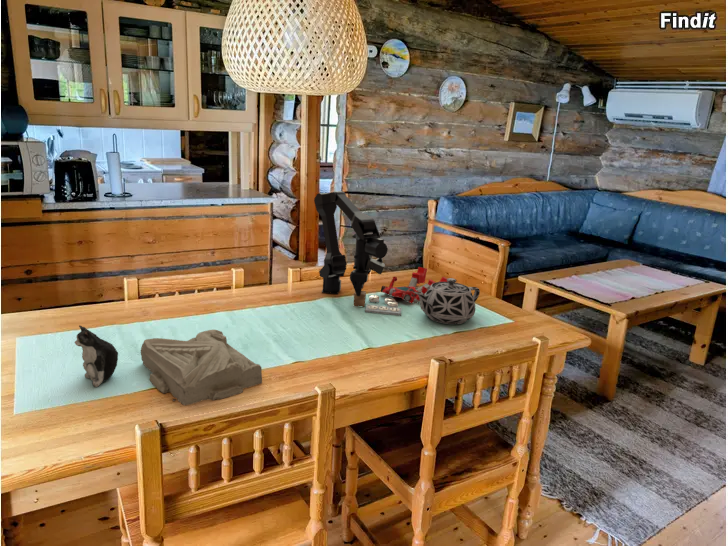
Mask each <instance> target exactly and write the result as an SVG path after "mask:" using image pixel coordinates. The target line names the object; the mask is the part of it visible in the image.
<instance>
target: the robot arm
mask: <svg viewBox="0 0 728 546" xmlns="http://www.w3.org/2000/svg"><path fill="white" fill-rule="evenodd" d="M313 201H314V202H313V203H314V206H315V210H316V212H317V213H318V214H319V216H320V217H321V222H322V229H323V237H324V242H325V243H324V244H325V250H326V254H325V257H324V260H323V266H322V267H321V268H320V269H319V270H318V273H319V277H321V278H322V290H321V293H324V294H333V295H338V294H339V292H341V289H342V280H341V277H342V278H343V277H344V276H345V274H346V273H345V272H346V270H347V266H348V264H347V260H346V257H347V256H346V255H345V254H342V253H341V251H340V246H339V240H338V235H337V234H338V232H337V225H336V219H335V213H336V211H337V207H338V208H339V209H340V210H341V211H342V212H343V214H345V216H346V217H347V218H348V219H349V220H350V225H351V228H352V229H353V231H354V234H353V235H352V236H351V237H352V238H353V239H355V248H354V255H353V260H354V261H353V262H354V263H353V264H354V265H352V266H353V270H351V272H350V274H349V280H350V282H351V285H352V286H353V289H354V293H355V292H356V295H357V296H360V294H361V291H363V289H364V286H365V283H367V282H368V279H369V274H370V273H372V271H373V272H374V273H376V274H377V275H382V273H383V272H384V269H385V267H386V264H385V262H384V260H383V259H384V258H385V257H386V256H387V254H388V251H389V249H388V246H387V244H386V243H385V239H383V238H381V235H380V232H379V230H378V227H377V224H376V221H375V220H374V218H373V217H371V216H370V215H368V214H366V213H364V212H362V211H361V209H359V208H358V207H357V206H356V205H355V204H354V203H353V201H351V199H350V198H349V197H348V196H347V195H346V192H345V191H342V190H337V191H332V192H326V193H324V192H323V193H321V192H319V193H317V194H316V195H315V197H314V200H313ZM372 257H374V258H372Z"/></svg>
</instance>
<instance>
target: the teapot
mask: <svg viewBox="0 0 728 546" xmlns="http://www.w3.org/2000/svg"><path fill="white" fill-rule="evenodd" d="M447 281H448V282H439V281H438V282H436V281H435V282H436V283H433V284H432V285H431V286H430V288H429V289H428V291H427V292H426V293H425V294H423V293H422V292H414V293H416V294H417V295H418V296H419V298H420V301H419V306H420V309H421V311H422V312H423V313H424V314H425V315H426V316H427V317H428V318H429V319H430V320H432V321H433V322H436V323H439V324H445V325H461V324H464V323H466V322H467V321H470V320H471V319H472V318H473V317H474V315H475V313H476V301H477V300H478V298H479V297H480V292H481V290H480V288H479V287H477V286H468V285H465V284H462V283H459V282H457V279H455V278H453V277H451V278H450V277H449V278H447ZM472 291H474V293H473V292H472Z"/></svg>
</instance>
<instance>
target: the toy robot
mask: <svg viewBox="0 0 728 546" xmlns="http://www.w3.org/2000/svg"><path fill="white" fill-rule="evenodd" d="M427 271H428V268H426V267H421V266H418V267H417V270H416V272H414V271H413V272H411V273H412V274H411V277H410V278H411V279H410V282H409V283H408V285H407V286H397V287H395V286H394V285H395V282H397V281H398V278H397V276H393V277H392V279H391V282H389V286H387V285H382V286H381V289H380V292H381V293H383V294H386V295H389V296H391V297H393V298H401V299H402V300H404V301H405V302H408V303H410V304H418V303H419V302H420V298H419V296H418V295H417V294H416V293H414V292H422V293H423V294H424V295H425V294H426V292H427V291H428V289H429V288H430V286H431V285H432V284H433V283H436V281H434V280H433V279H428V281H427V283H425V282H426V277H427ZM447 279H448V278H447V277H445V276H442V277H441V278H440V280H438V282H448V281H447ZM424 283H425V284H424ZM420 284H423V285H422V286H420V287H418V288H417V289H416V287H417V285H420Z"/></svg>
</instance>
